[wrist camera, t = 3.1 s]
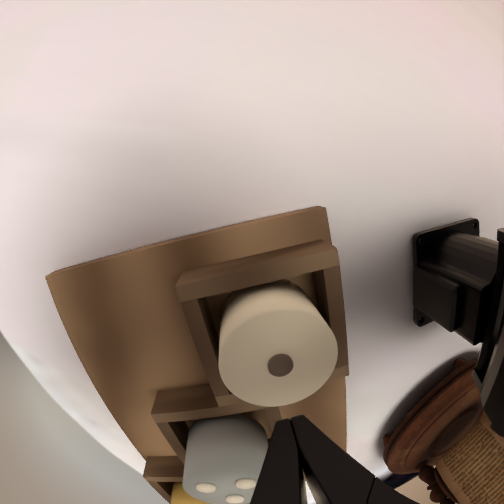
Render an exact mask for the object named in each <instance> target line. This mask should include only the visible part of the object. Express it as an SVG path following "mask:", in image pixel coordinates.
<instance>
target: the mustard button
mask: <svg viewBox="0 0 504 504" xmlns="http://www.w3.org/2000/svg"><path fill="white" fill-rule="evenodd" d="M182 484H183V482H175V483H174V484H173V488H172V496H171V504H211V503H207V502H203V501H200V500H198V499H195V498H194V497H192V496H190V495H189V494H188V493H187V492H186V491H185V490H184V488H183V485H182Z"/></svg>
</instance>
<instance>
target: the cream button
mask: <svg viewBox="0 0 504 504" xmlns="http://www.w3.org/2000/svg"><path fill="white" fill-rule="evenodd" d="M337 356H338V347H337V341H336V338H335V336H334V334H333V332H332V330H331V329H330V327H329V326H328V325H327V323H326V322H325V320H324V319H323V317H322V316H321V315H320V313H319V312H318V310H317V309H316V307H315V306H314V305H313V303H312V302H311V300H310V299H309V297H308V296H307V295H306V293H305V292H304V291H303V290H302V289H301V288H300V287H299V286H298V285H297V284H295V283H294V282H292V281H290V280H287V279H281V280H277V281H273V282H269V283H265V284H260V285H256V286H252V287H247V288H243V289H239V290H234V291H233V292H232V293H231V294H230V295H229V297H228V298H227V300H226V301H225V303H224V306H223V308H222V312H221V321H220V341H219V363H218V365H219V372H220V376H221V378H222V381H223V383H224V384H225V386H226V387H227V388H228V389H229V390H230V392H232V393H233V394H234V395H235V396H237V397H238V398H240V399H241V400H243V401H246V402H248V403H251V404H254V405H259V406H267V407H275V406H284V405H289V404H292V403H296V402H298V401H301V400H303V399H305V398H307V397H309V396H310V395H312V394H313V393H315V392H316V391H317V390H318V389H320V388H321V387H322V386H323V385H324V384H325V382H326V381H327V380H328V379H329V377H330V376H331V374H332V372H333V370H334V368H335V365H336V362H337Z"/></svg>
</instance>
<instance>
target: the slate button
mask: <svg viewBox="0 0 504 504" xmlns="http://www.w3.org/2000/svg"><path fill="white" fill-rule="evenodd" d="M267 449H268V441H267V435H266V431H265V429H264V427H263V426H262V425H261V424H260V423H259V422H257V421H256V420H254V419H252V418H249V417H247V416H243V415H239V414H232V415H225V416H219V417H212V418H204V419H199V420H197V421H196V422H195V423H194V424H193V425H192V426H191V427H190V429H189V432H188V439H187V448H186V456H185V465H184V474H183V484H182V485H183V488H184V490H185V491H186V492H187V493H188V494H189V495H190V496H192V497H194V498H195V499H198V500H200V501H203V502H207V503H211V504H249V503H250V501H251V498H252V495H253V492H254V489H255V486H256V484H257V480H258V477H259V474H260V471H261V468H262V465H263V462H264V459H265V455H266V452H267Z"/></svg>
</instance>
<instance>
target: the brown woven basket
mask: <svg viewBox="0 0 504 504" xmlns="http://www.w3.org/2000/svg"><path fill="white" fill-rule="evenodd" d="M477 361H478V358H476V359H473V360H471V361H469V362H468V361H466V360H463V359H457V360H456V362H455V364H456V367H457V369H456V370H455V371H453V372H452V373H451V374H449V375H448V376H447V377H446V378H444V379H443V380H442V381H441V382H439V383H438V384H437V385H436V386H435V387H434V388H433V389H432V390H430V391H429V392H428V393H427V394H426V395H425V396H424V397H423V398H422V399H421V400H420V401H419V402H418V403H417V404H416V405H415V406H414V407H413V408H412V409H411V411H410V412H409V413H408V414H407V415H406V416H405V417H404V419H403V420H402V421H401V422H400V424H399V425H398V426H397V428H396V429H395V431H394V432H393V433H392V435H391V436H390V435H385V436H384V446H385V450H384V461H385V463H386V465H387V466H388V469H389V470H390V471H391V472H393V473H395V474H408V473H414V472H419V475H418V476H419V478H420V479H421V480H422V481H424V482H425V483H427V484H428V485H429V486H428V487H427V490H432V491H431V493H430V499H431V501H433V502H435V503H439V502H440V504H455V503H458V504H504V437H501V436H499V435H498V434H497V433H496V432H494V431H493V430H492V429H491V428H490V423H491V421H490V419H489V418H488V416H487V414H486V413H485V411H484V410H483V406H482V402H481V397H480V392H479V390H478V388H477V386H476V384H475V382H474V380H473V378H472V373H473V370H474V367H476V364H477ZM434 465H436V467H435V469H434V467H433V466H434ZM447 497H448V498H447Z"/></svg>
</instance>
